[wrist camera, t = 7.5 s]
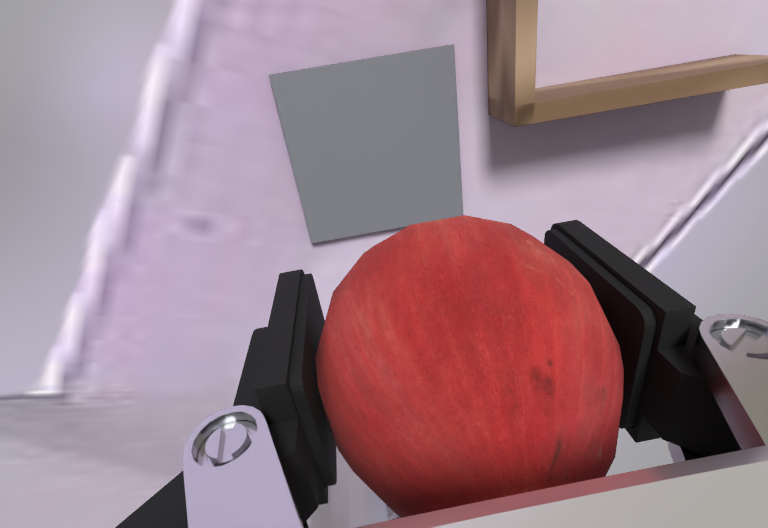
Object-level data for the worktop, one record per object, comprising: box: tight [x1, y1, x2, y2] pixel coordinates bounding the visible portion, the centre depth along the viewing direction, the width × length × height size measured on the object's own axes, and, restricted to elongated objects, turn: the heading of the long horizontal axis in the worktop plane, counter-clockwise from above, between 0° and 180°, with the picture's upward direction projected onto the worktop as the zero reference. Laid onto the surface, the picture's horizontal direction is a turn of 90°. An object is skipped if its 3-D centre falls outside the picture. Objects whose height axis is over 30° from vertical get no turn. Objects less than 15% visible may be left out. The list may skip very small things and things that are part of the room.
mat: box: [269, 45, 463, 243], centre depth 25 cm, size 10×10×1 cm
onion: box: [315, 215, 624, 518], centre depth 8 cm, size 6×6×8 cm
